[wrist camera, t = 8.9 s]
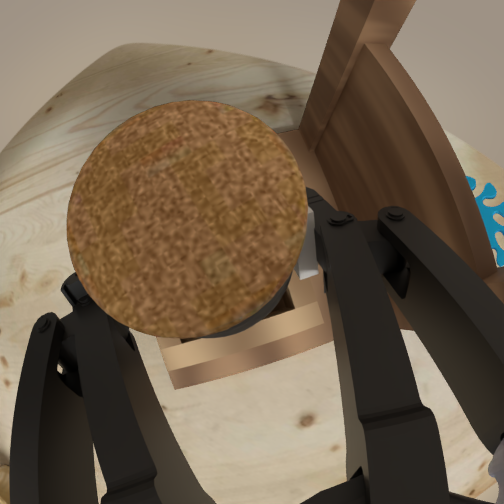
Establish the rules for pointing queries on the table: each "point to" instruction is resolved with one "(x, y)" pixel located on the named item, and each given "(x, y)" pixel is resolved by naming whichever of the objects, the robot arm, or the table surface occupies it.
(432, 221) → the wooden holder stand
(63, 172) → the table surface
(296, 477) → the table surface
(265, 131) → the bottle
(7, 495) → the hand bell
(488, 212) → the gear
